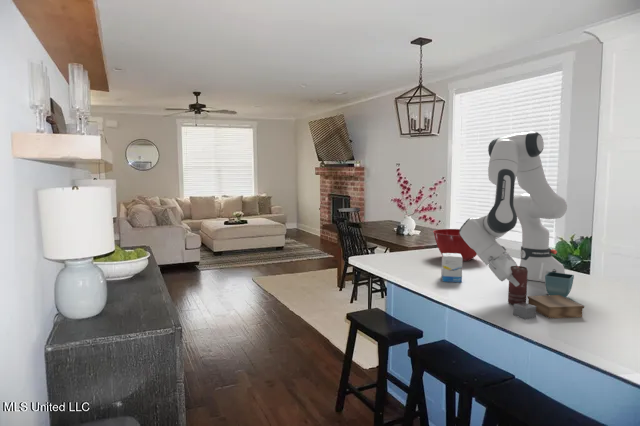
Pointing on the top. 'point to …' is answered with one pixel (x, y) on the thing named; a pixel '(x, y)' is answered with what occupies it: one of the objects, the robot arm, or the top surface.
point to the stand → (556, 306)
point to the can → (520, 291)
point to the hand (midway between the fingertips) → (519, 283)
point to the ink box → (451, 267)
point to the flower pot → (558, 283)
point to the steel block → (524, 310)
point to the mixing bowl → (453, 243)
